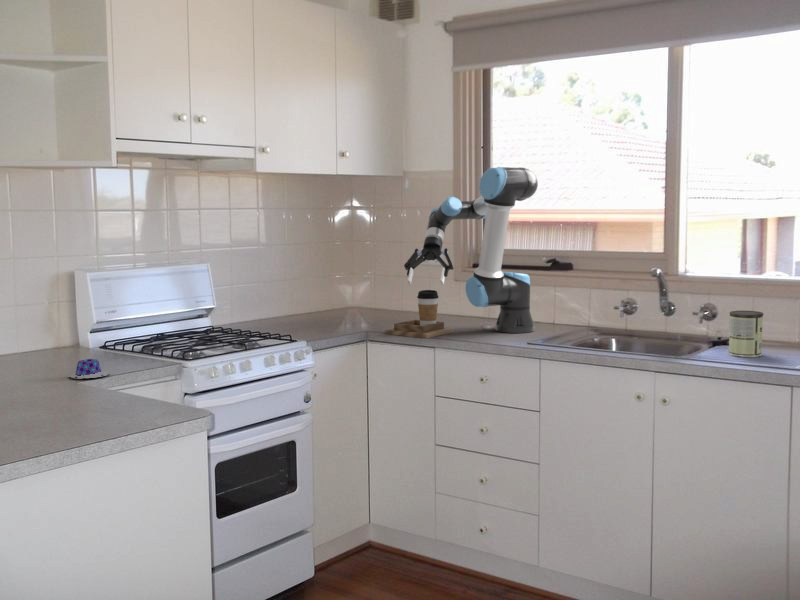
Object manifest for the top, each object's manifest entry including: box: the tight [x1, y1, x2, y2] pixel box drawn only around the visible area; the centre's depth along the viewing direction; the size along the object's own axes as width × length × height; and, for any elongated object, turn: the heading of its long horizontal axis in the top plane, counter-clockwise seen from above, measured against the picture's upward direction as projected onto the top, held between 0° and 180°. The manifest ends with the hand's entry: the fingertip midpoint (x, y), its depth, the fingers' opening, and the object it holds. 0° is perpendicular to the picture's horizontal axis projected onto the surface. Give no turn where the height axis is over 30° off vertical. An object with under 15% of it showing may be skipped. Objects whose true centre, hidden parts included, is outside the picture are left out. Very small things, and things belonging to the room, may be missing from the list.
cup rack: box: [384, 319, 454, 339], centre depth 346 cm, size 20×18×4 cm
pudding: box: [74, 358, 102, 376], centre depth 266 cm, size 12×12×5 cm
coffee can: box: [728, 310, 764, 358], centre depth 290 cm, size 10×10×14 cm
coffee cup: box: [416, 289, 440, 326], centre depth 345 cm, size 8×8×15 cm
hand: (425, 282), depth 353 cm, fingers open, 13 cm apart
